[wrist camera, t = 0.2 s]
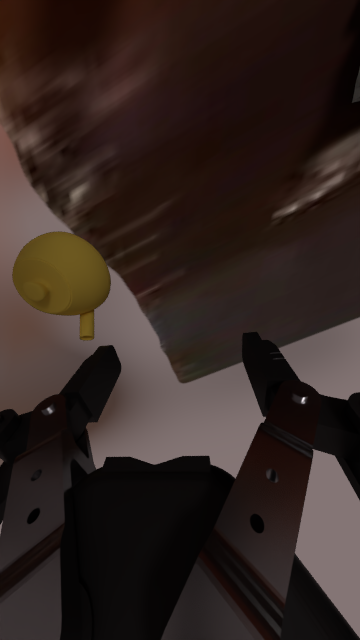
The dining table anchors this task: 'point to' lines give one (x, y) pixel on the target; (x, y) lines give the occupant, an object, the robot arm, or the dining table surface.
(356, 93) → the press
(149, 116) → the dining table surface
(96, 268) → the teapot
